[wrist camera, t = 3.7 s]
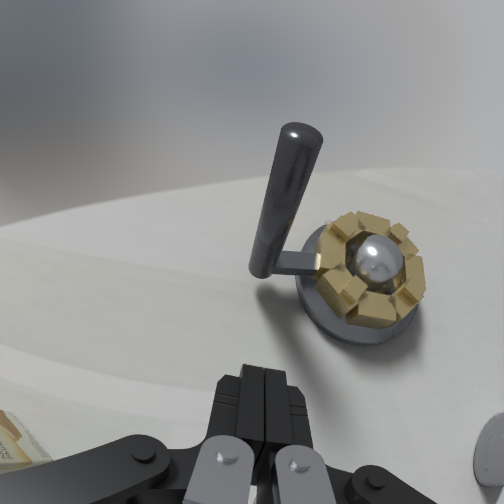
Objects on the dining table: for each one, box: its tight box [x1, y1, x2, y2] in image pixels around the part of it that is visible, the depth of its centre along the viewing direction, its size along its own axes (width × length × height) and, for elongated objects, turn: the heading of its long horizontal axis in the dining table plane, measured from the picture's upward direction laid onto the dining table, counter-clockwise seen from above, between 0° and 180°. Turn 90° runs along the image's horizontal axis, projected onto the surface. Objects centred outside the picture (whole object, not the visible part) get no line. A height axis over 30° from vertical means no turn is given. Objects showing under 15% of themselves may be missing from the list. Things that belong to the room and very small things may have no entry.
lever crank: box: [249, 122, 426, 330], centre depth 22 cm, size 16×11×14 cm, turn 80°
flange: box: [295, 220, 418, 346], centre depth 27 cm, size 13×13×6 cm
